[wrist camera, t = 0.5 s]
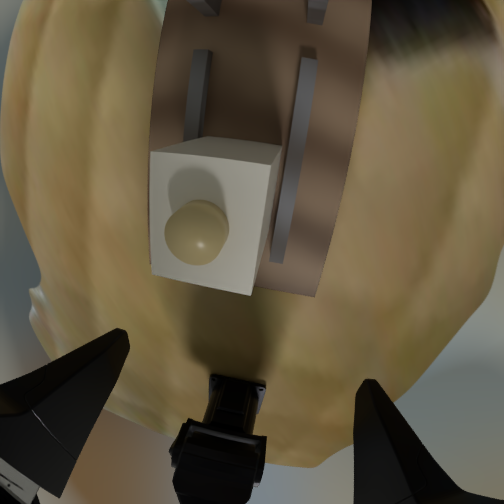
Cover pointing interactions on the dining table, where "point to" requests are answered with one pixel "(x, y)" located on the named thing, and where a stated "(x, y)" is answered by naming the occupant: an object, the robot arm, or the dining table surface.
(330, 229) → the brown board with frame
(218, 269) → the white block with knob
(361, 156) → the dining table surface
